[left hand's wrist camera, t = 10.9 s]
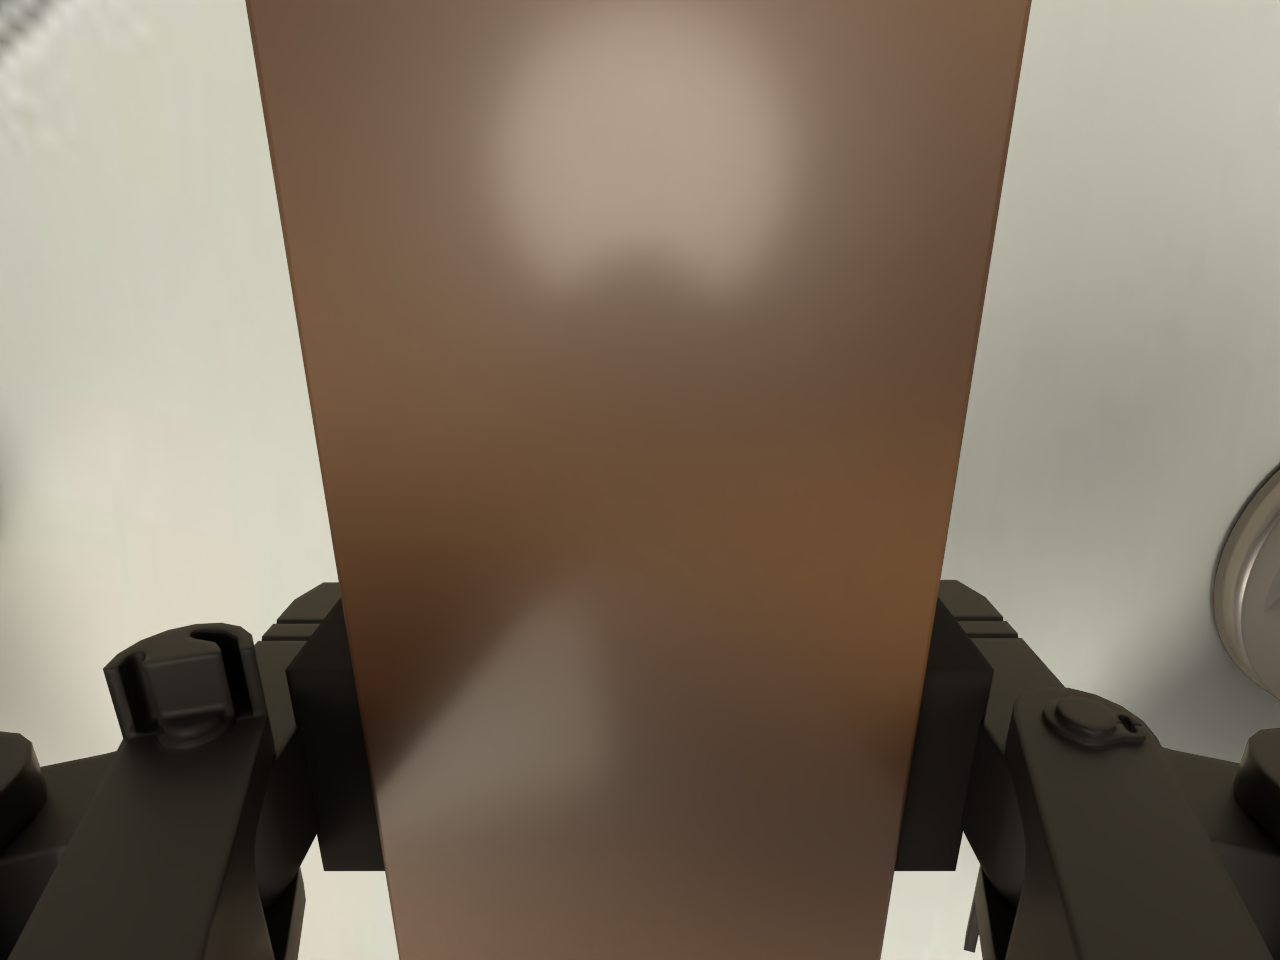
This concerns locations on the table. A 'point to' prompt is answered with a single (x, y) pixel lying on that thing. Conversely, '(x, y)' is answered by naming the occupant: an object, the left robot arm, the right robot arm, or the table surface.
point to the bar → (639, 441)
